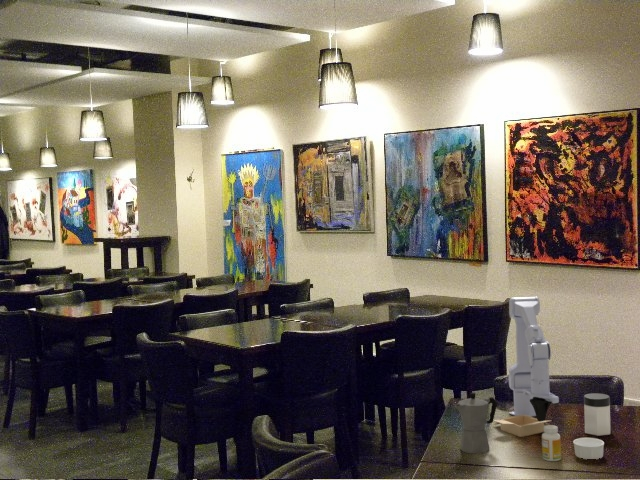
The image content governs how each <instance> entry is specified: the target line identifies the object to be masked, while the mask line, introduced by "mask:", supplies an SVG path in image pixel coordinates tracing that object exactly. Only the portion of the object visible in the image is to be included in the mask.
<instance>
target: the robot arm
mask: <svg viewBox="0 0 640 480" xmlns="http://www.w3.org/2000/svg"><path fill="white" fill-rule="evenodd" d="M540 303H541V302H540V299H539V297H538V296H537V295H536V296H523V297H521V296H520V297H513V296H512V297H510V299H509V301H508V309H509V310H508V311H509V312H508V314H509V318H510V319H512V320H513V319H514V322H515V339H516V340H515V341H516V342H515V343H516V344H515V345H516V347H515V348H516V349H515V350H516V362H515V363H514V364H513V365H511V366H510V367H509V369H508V386H509V388H510V390H512V391H513V411H510V412H508V414H509V415H512V416H518V415H527V416H530V417H533V418H534V417H535V418H537V420H538V421H540V422H541V421H546V419H547V414H548V411H549V408H550V407H551V404H558V403H559V402H560V398H559V396H557V395H555V394H554V393H552V392H550V391H551V389H550V362H549V361H550V360H551V356H552V354H551V353H552V350H551V346H550V342H549V341H548V340H546V339H545V335H544V331H543V328H542V327H541V326H539V325H538V320H537V316H538V315H539V313H540V311H541V304H540Z"/></svg>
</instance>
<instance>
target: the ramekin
mask: <svg viewBox="0 0 640 480" xmlns="http://www.w3.org/2000/svg"><path fill="white" fill-rule="evenodd" d="M572 442H573V446H574V447H573V448H574V454H575V455H574V456H576V457H577V458H579V459H581V458H583V459H582V460H587V459H596V460H599V458H600V459H602V458H603V456H604V446H605V442H604V441H603V440H602V439H599V438H596V437H579V438H576V439H574V440H573V441H572Z"/></svg>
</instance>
